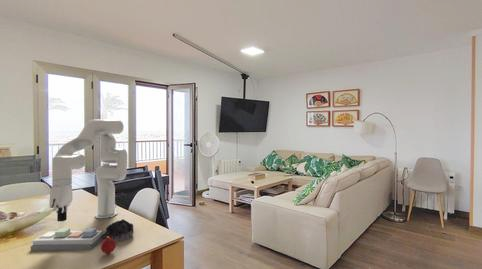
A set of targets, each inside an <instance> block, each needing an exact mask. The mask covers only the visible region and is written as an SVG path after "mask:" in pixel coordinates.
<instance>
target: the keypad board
mask: <svg viewBox="0 0 482 269" xmlns="http://www.w3.org/2000/svg"><path fill="white" fill-rule="evenodd" d="M56 231H57V230H48V231H46V232H45V233H43V234H42V235H40V236H37V238H35V239H33V240H32V245H30V251H31V252H32V251H33V252H34V251H35V252H36V251H37V252H39V251H81V250H83V251H84V250H86V251H88V250H92V249H93V248H94V247H95V246H96V245H97V244H98V243H100V242H101V241H102V240H103V239H105V238H104V237H105V236H104V234H105V232H104V230H103V229H102V230H97V233H96V234H95V235H94V236H92V237H83V235H82V236H81V237H79V238H69V236H70V235H71V234H73V233H74V232H83V231H84V230H70V234H69V235H67V236H66V237H55V236H54V237H52V238H48V239H41V236H43V235H45V234H46V233H55V232H56Z"/></svg>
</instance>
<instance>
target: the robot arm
mask: <svg viewBox="0 0 482 269" xmlns="http://www.w3.org/2000/svg"><path fill="white" fill-rule="evenodd" d="M123 131H124V124H123V122H122V120H119V119H104V118H101V119H97V118H95V119H90V120H88V121H87V123H86V124H85V126H84V127H83V128H82V130H81V132H80V133H79V134H78V136H76V137H75V138H73V139H71V140H70V141H68V142H66V143H65V144H64V145H62V146H61V147H60V148H59V150H58V151H57V152H56V154H55V156H54V157H52V160H51V161H52V163H51V164H52V166H51V176H52V178H51V184H52V186H51V187H50V192H49V204H48V205H49V206H48V207H49V208H51V209H52V212H56V215H57V218H56V219H57V222H65V221H67V217H68V216H67V215H68V214H67V212H68V207H69V206H70V205H71V204H72V202H73V186H72V184H73V183H72V182H73V181H72V180H73V178H72V177H73V176H72V175H73V174H72V173H73V170H80V169H83V168H84V167H85V166H86V165H87V162H88V160H87V157H86V156H85V155H84V154H80V153H76V152H78V151H82V150H86V149H88V148H91V147H92V146H94V145H95V143H96V142H97V139H98V138H99V139H100V150H99V159H100V162H101V163H104V164H105V165H99V166H98V167H97V168H96V170H95V177H96V183H97V184H96V185H97V212H96V213H95V214H94V218H96V219H109V217H110V218H113V217H116V216H118V214H117V213H118V211H117V210H116V208H117V204H116V193H115V192H116V186H115V184H114V182H113V181H116V182H117V181H123V180H124V181H125V179H126V177H127V170H128V152H127V150H126V149H125V148H123V147H122V148H121V147H116V145H117V144H116V143H117V140H116V137H115V136H114V135H118V134H119V135H120V134H121V133H122V132H123ZM107 164H108V165H107ZM109 164H111V165H109ZM113 164H115V165H113ZM115 215H116V216H115Z"/></svg>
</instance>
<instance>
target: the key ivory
mask: <svg viewBox="0 0 482 269" xmlns="http://www.w3.org/2000/svg"><path fill="white" fill-rule="evenodd" d="M45 233H46V234H45ZM45 233H44V234H45V235H43V234H42V235H43V236H42V235H40V236H41V239H48V238H52V237H54V236H55V233H47V232H45Z"/></svg>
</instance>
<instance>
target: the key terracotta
mask: <svg viewBox="0 0 482 269" xmlns="http://www.w3.org/2000/svg"><path fill="white" fill-rule="evenodd" d="M82 235H83V232H74V233H73V234H71V235H70V236H69V238H79V237H81V236H82Z"/></svg>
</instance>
